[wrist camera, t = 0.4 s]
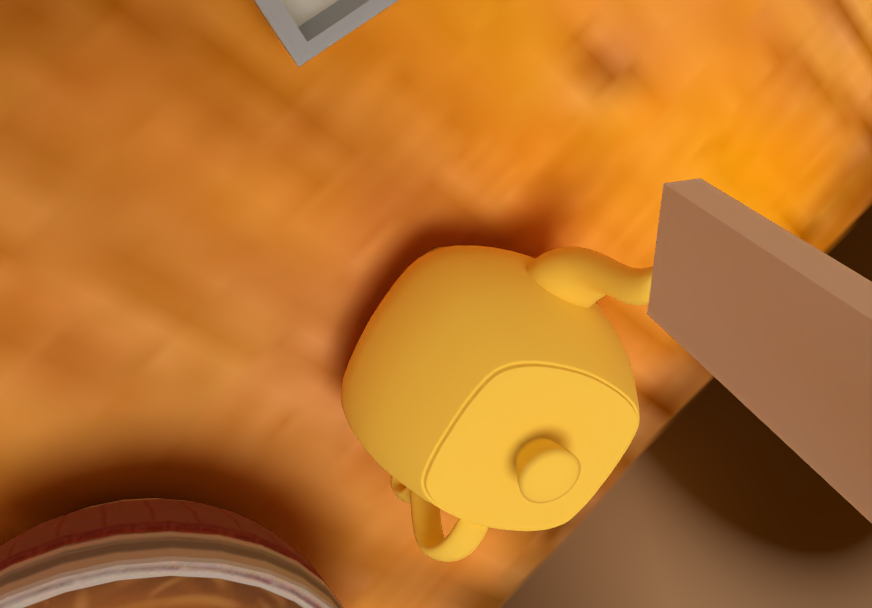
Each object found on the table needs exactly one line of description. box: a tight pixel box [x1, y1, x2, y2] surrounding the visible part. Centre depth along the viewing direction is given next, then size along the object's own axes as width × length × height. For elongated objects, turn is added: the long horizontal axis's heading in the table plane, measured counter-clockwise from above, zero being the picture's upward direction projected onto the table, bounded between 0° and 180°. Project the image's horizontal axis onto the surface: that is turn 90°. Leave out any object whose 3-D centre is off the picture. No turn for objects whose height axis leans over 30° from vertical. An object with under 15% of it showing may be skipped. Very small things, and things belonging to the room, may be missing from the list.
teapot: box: [341, 245, 653, 562], centre depth 41 cm, size 14×20×13 cm
